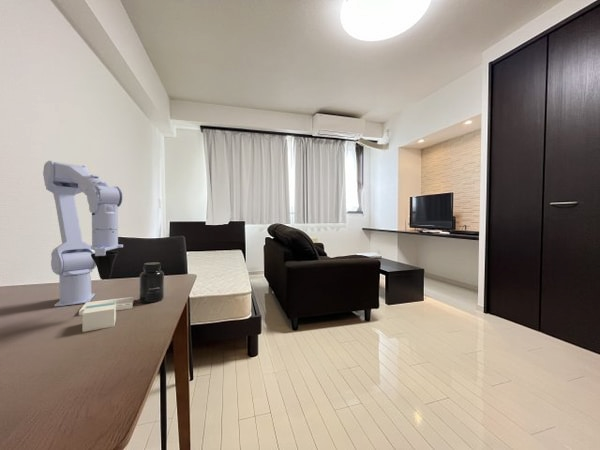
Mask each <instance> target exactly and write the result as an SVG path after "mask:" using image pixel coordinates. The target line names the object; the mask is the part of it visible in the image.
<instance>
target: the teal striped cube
mask: <svg viewBox="0 0 600 450" xmlns="http://www.w3.org/2000/svg"><path fill="white" fill-rule="evenodd" d="M81 317H82V319H81V320H82V326H81V328H82V333H85V332H90V331H96V330H102V329H107V328H108V329H109V328H112V327H113V328H114V327H115V326H116V325H115V323H116V319H117V311H116V302H111V303H104V304H97V305H90V306H86V308H85V310H84V312H83V313H82V315H81Z"/></svg>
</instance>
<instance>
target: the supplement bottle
mask: <svg viewBox="0 0 600 450" xmlns="http://www.w3.org/2000/svg"><path fill="white" fill-rule="evenodd" d="M161 265H162V264H161V262H157V261H156V262H155V261H153V262H145V263H143V271H142V272H141V273H140V274H139V294H138V295H139V296H138V297H139V302H140V303H143V304H150V303H151V304H152V303H153V304H154V303H157V301H158V302H160V301H162V300H163V299H164V294H165V293H164V291H165V287H164V286H165V285H164V284H165V273H164V271H162V270H161Z"/></svg>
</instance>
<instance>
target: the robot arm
mask: <svg viewBox="0 0 600 450" xmlns="http://www.w3.org/2000/svg"><path fill="white" fill-rule="evenodd" d="M42 175H43V181H44V186H45V189H46V191H48V192H51V193H52V195H53V198H54V202H55V203H54V204H55V208H56V210H55V211H56V214H57V215H56V216H57V222H58V226H59V232H60V238H61V244H59V245H58V246H56V247H55V248H54V249H53V250H52V251H51V254H50V255H51V256H50V257H51V260H50V262H51V263H50V266H51V270H52V272H53V273H54V274H56V275H57V276H58V277H59V280H58V281H59V283H58V284H59V300H58V301H57V302H56V303H55V304H54V307H62V306H72V305H79V304H81V305H82V304H85V303H86V302H91V300H92V299H93V298H94V296H95V295H96V292H95V293H93V292H92V275H91V273H93V270H94V269H95V268H96V269H97V271H98V276H99V278H100V280H106V279H107V280H108V279H110V278H111V277H112V273H113V269H114V264H115V261H116V258H117V256H118V255H119V251H118V250H117V251H116V250H115V249H119V248H124V244H119V207H120V206H121V205H122V202H123V192H122V189H120V187H119V186H110V185H108V184H107V183H106V181H103V180H102V179H101V178H100V176H99V175H97V174H90V171H89V168H88V167H87V166H86V165H79V164H70V163H65V162H58V161H53V160H48V161H45V162H44V165H43V171H42ZM81 193H82V194H84V195H85V196H86V199H87V203H88V206H89V207H88V208H89V209H88V211H89V213H91V244H89V243H88V242H85V241H84V240H83V237H82V236H83V235H82V231H81V224H80V219H79V213H78V209H77V208H78V207H77V203H76V198H75V197H76V195H78V194H81ZM112 250H115V251H112Z"/></svg>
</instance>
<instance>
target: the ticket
mask: <svg viewBox="0 0 600 450" xmlns="http://www.w3.org/2000/svg"><path fill="white" fill-rule="evenodd" d="M111 302H116V312H117V311H123V310H124V311H125V310H130V309H133V306H134V302H135V296H129V297H120V298H111V299H106V300H104V299H103V300H102V299H101V300H95V301H89V302H86V303H83V305H82V307H81V308H80V309H79V311H78V316H82V313H83V312H84V310H85V308H86V306H90V305H97V304H104V303H111Z"/></svg>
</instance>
